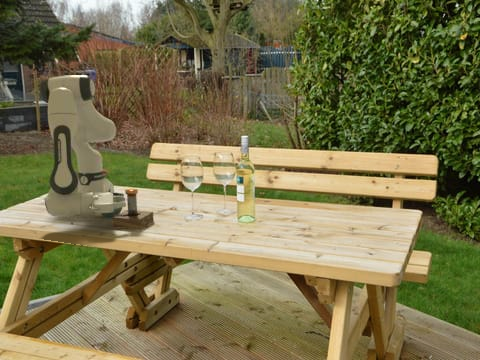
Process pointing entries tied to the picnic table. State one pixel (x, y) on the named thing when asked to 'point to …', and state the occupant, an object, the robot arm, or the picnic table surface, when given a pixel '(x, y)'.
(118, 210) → the flower pot
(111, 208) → the robot arm
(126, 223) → the block
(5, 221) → the picnic table surface
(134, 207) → the pin
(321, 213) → the picnic table surface
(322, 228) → the picnic table surface
